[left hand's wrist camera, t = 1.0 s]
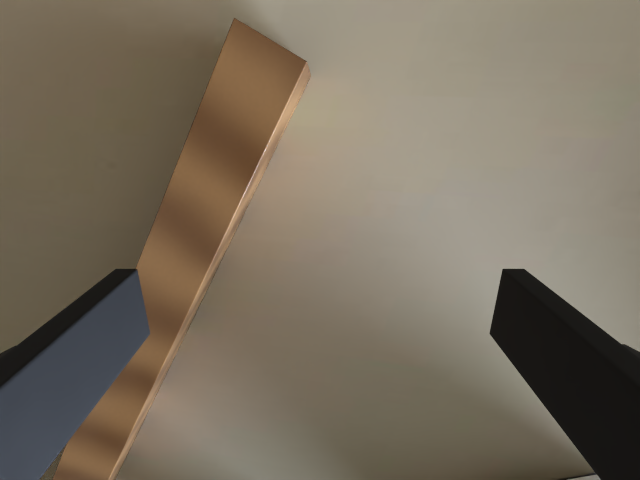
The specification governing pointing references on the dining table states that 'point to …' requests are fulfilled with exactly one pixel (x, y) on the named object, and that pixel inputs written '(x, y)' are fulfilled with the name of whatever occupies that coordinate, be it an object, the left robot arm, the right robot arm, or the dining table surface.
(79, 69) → the dining table surface
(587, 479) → the white box with radio
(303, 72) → the post
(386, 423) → the dining table surface
